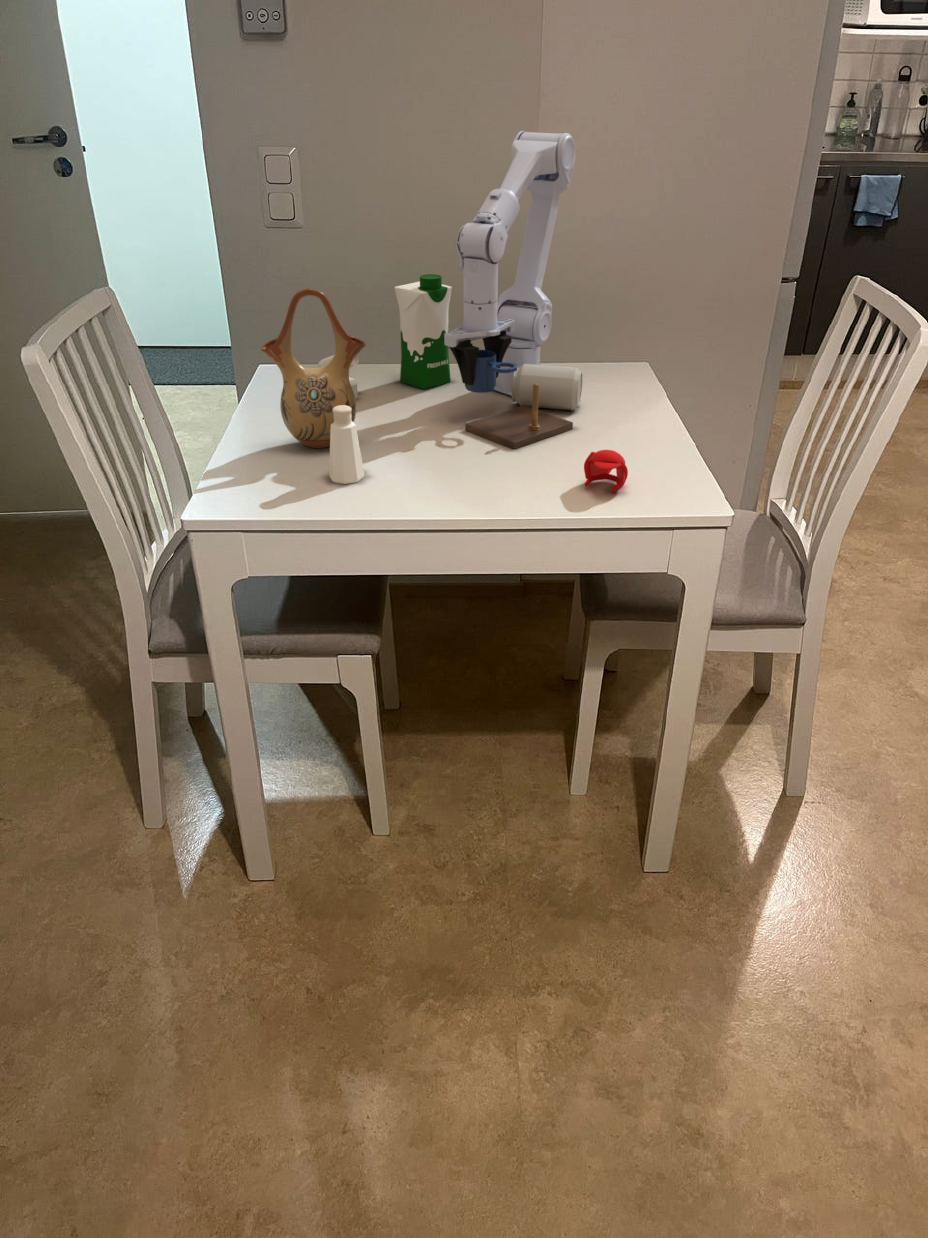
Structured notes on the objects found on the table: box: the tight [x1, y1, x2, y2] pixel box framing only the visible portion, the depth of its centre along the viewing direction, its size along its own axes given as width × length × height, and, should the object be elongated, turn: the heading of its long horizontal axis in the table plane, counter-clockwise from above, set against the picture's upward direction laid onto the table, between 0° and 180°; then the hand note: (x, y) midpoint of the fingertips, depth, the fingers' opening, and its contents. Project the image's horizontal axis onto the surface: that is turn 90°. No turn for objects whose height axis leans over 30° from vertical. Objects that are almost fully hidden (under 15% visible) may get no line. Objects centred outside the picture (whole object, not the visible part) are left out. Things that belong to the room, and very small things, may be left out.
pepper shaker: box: [328, 405, 366, 485], centre depth 143 cm, size 5×5×11 cm
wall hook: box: [316, 353, 360, 400], centre depth 176 cm, size 9×10×10 cm
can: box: [511, 364, 583, 411], centre depth 171 cm, size 8×8×12 cm
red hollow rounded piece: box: [583, 449, 629, 493], centre depth 141 cm, size 8×6×6 cm
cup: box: [464, 349, 517, 394], centre depth 164 cm, size 11×5×6 cm, turn 42°
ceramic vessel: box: [259, 287, 367, 449], centre depth 151 cm, size 16×9×25 cm, turn 99°
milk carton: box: [394, 273, 453, 390], centre depth 180 cm, size 9×9×20 cm
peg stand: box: [464, 383, 574, 450], centre depth 161 cm, size 12×14×9 cm
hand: (480, 380), depth 166 cm, fingers closed on cup, 5 cm apart
